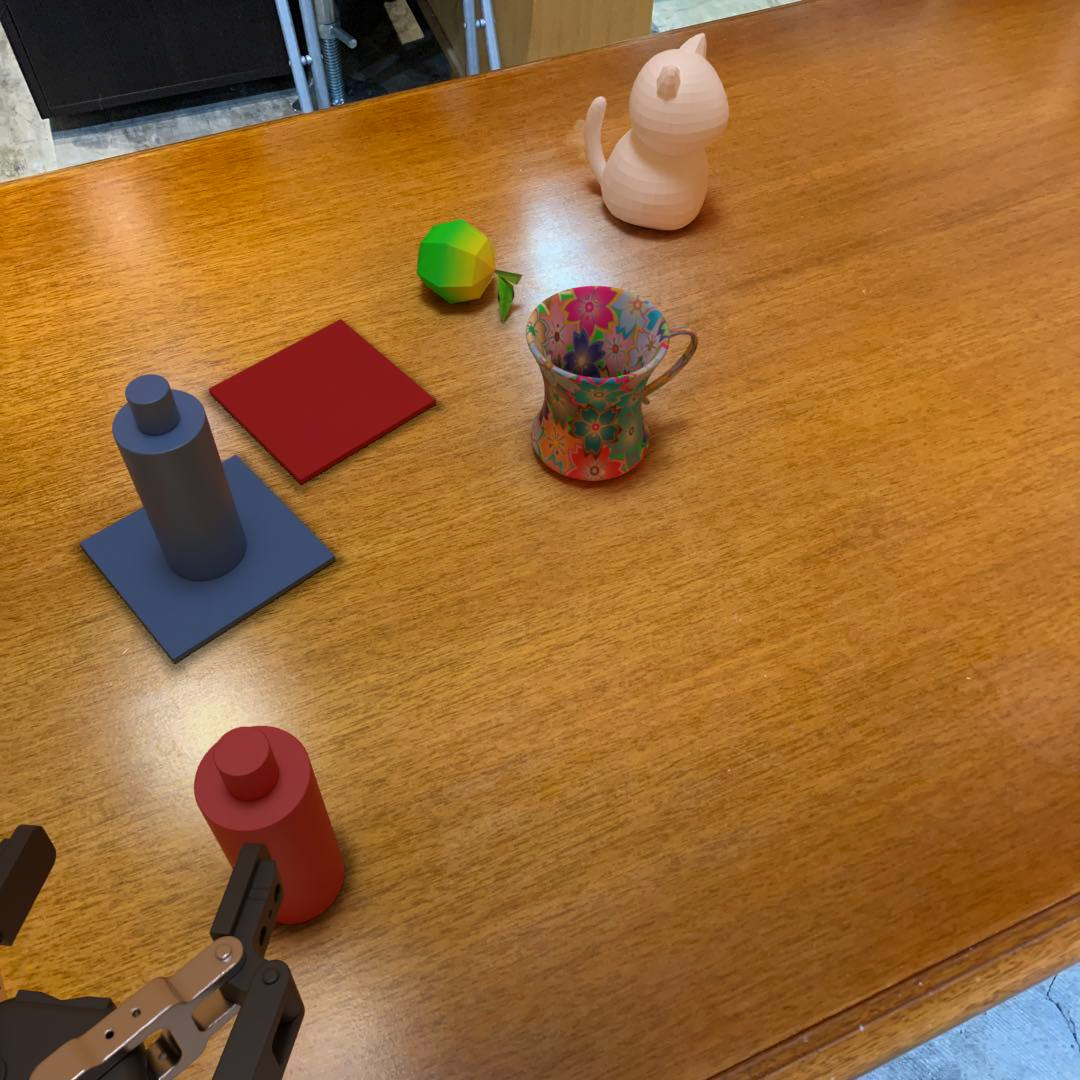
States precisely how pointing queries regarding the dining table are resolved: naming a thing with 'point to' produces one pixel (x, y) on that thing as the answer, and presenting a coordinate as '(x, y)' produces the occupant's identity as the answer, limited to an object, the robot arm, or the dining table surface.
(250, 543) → the blue mat
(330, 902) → the red bottle
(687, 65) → the cat figurine
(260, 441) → the red mat
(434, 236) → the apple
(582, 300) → the mug
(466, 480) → the dining table surface
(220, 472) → the blue bottle
